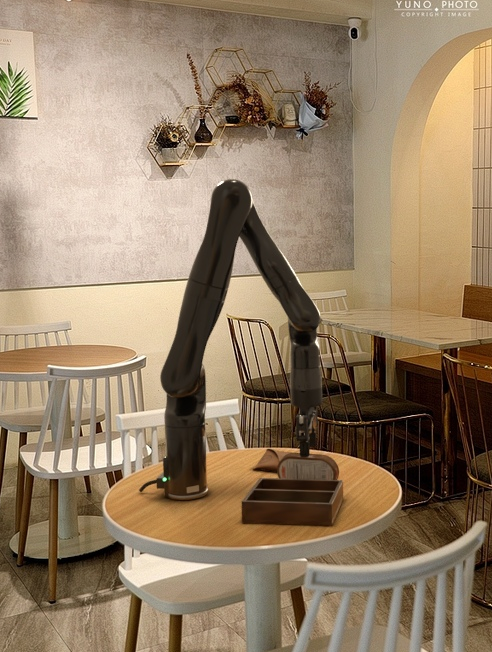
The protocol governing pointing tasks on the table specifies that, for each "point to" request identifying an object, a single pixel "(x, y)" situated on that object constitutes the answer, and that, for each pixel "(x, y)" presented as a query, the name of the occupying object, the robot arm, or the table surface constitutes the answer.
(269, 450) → the sunglasses case
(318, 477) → the tin
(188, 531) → the table surface
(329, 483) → the organizer
